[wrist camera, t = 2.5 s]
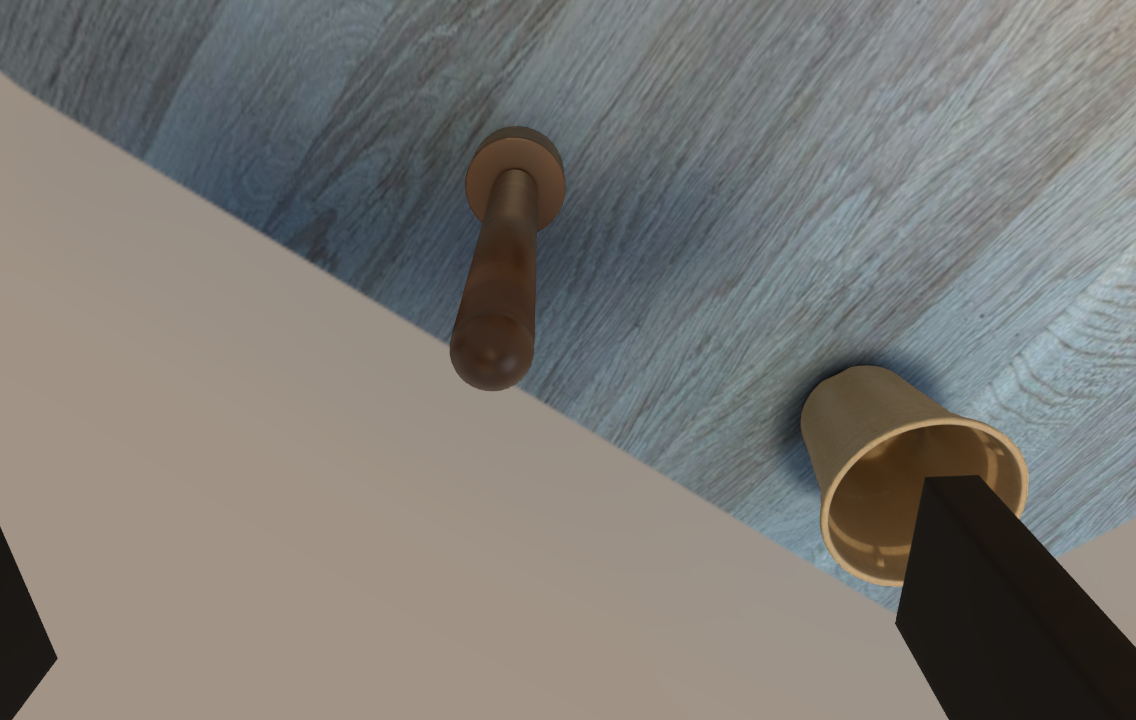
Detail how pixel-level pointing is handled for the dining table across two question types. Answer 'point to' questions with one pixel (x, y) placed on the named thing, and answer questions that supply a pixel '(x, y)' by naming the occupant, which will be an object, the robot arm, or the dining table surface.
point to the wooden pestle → (505, 255)
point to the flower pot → (893, 465)
